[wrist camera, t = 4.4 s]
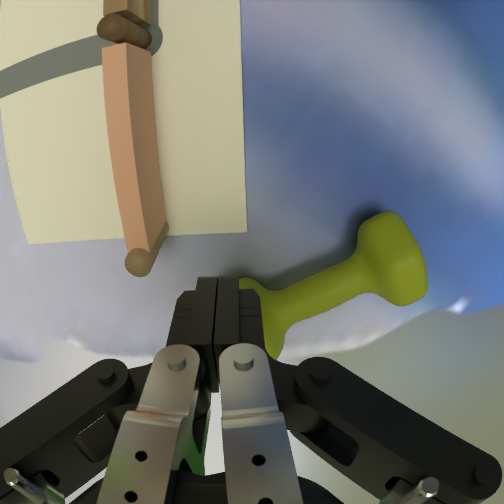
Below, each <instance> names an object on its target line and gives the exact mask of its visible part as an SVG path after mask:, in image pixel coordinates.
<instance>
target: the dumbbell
mask: <svg viewBox="0 0 504 504" xmlns="http://www.w3.org/2000/svg"><path fill="white" fill-rule="evenodd" d="M427 288H428V278H427V271H426V265H425V261H424V257H423V254H422V251H421V249H420V247H419V245H418V243H417V241H416V239H415V238H414V236H413V234H412V233H411V231H410V230H409V228H408V227H407V225H406V224H405V222H404V221H403V220H402V219H401V217H400V216H399V215H397V214H396V213H394V212H392V211H385V212H382V213H379V214H377V215H375V216H373V217H371V218H369V219H367V220H366V221H364V222H363V223H362V224H361V225H360V227H359V229H358V234H357V246H356V249H355V252H354V253H353V255H352V256H351V257H350V258H348V259H347V260H345V261H343V262H340V263H338V264H336V265H333V266H331V267H328V268H326V269H324V270H322V271H320V272H317V273H315V274H313V275H311V276H309V277H306V278H304V279H302V280H300V281H298V282H296V283H294V284H292V285H290V286H288V287H286V288H283V289H281V290H277V291H272V290H268V289H265V288H264V287H263V286H261V285H260V284H259V283H258V282H257V281H255V280H254V279H251V278H241V279H239V289H254V290H255V291H256V292H257V294H258V295H259V296H260V301H261V311H262V321H263V331H264V341H265V348H266V351H267V352H268V354H269V355H270V356H271V357H272V358H274V359H275V360H277V359H278V357H279V355H280V353H281V351H282V349H283V345H284V338H285V334H286V332H287V330H288V329H289V327H290V326H292V325H293V324H295V323H296V322H299V321H301V320H304V319H307V318H310V317H312V316H315V315H318V314H320V313H323V312H325V311H328V310H330V309H332V308H334V307H336V306H338V305H340V304H342V303H344V302H346V301H348V300H350V299H352V298H354V297H355V296H357V295H360V294H362V293H367V292H369V293H375V294H377V295H379V296H381V297H382V298H384V299H385V300H387V301H388V302H390V303H392V304H394V305H397V306H406V305H409V304H411V303H413V302H415V301H417V300H419V299H421V298H422V297H424V295H425V294H426V292H427Z"/></svg>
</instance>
